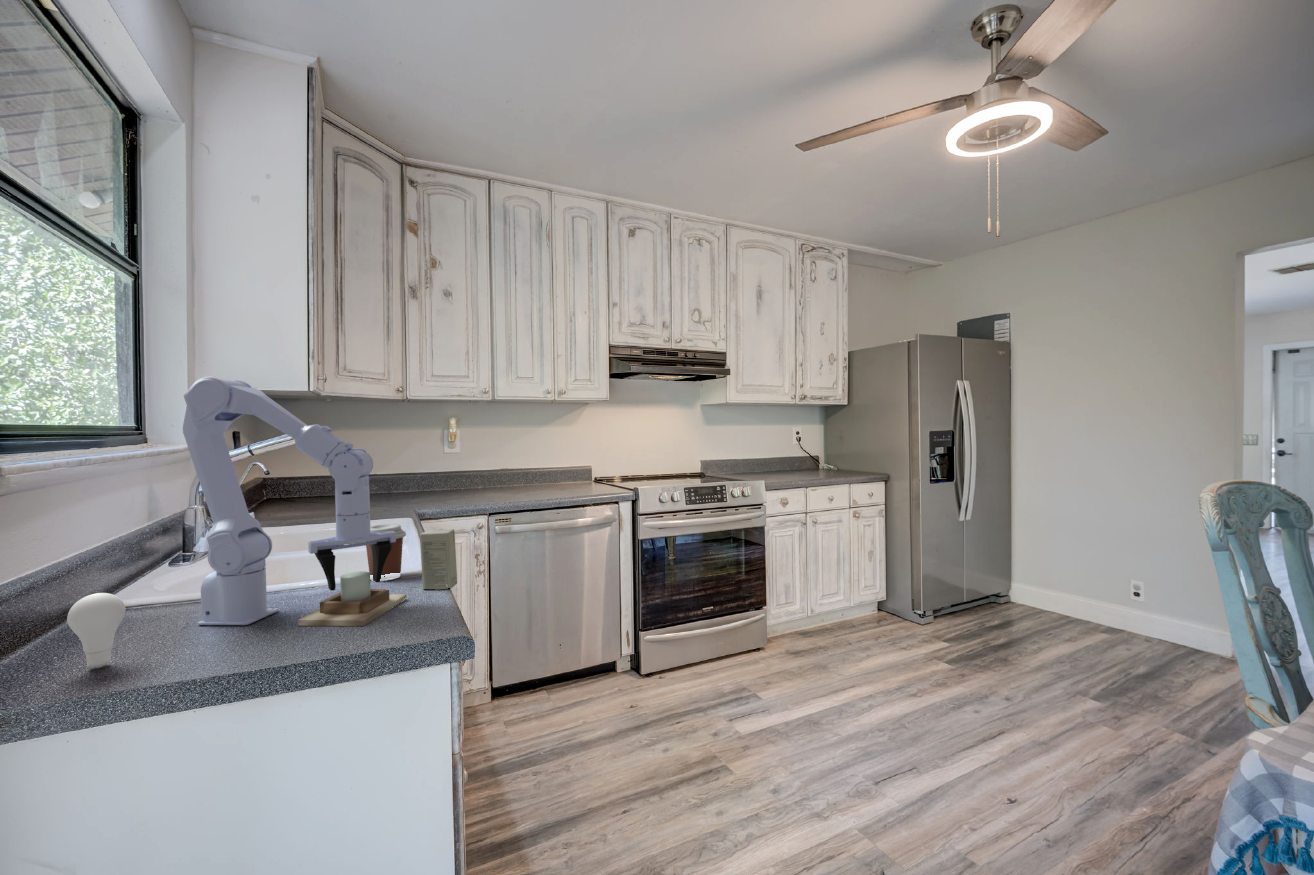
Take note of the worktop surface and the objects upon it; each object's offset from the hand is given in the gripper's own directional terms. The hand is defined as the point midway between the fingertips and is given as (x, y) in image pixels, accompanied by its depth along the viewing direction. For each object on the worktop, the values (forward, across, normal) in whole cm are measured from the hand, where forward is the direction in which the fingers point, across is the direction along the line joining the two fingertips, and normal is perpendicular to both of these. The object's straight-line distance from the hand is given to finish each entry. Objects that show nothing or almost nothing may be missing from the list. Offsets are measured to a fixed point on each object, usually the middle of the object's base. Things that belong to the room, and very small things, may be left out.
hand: (354, 585), depth 107 cm
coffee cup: (+5, +11, +21) cm, 25 cm away
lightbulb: (+5, -35, -1) cm, 35 cm away
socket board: (+5, 0, 0) cm, 5 cm away
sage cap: (+4, 0, 0) cm, 4 cm away
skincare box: (+5, +18, +5) cm, 19 cm away
